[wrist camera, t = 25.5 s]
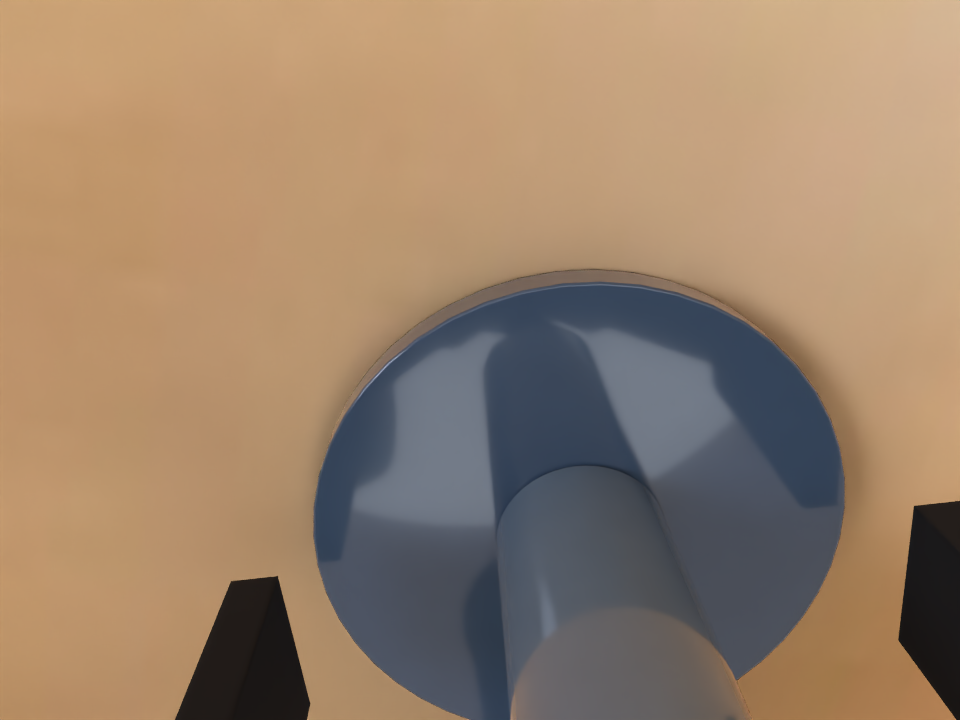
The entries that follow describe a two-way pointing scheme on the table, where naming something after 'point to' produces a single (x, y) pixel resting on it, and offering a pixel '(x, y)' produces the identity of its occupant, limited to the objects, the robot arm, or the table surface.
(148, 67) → the table surface
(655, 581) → the lid
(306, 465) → the table surface
